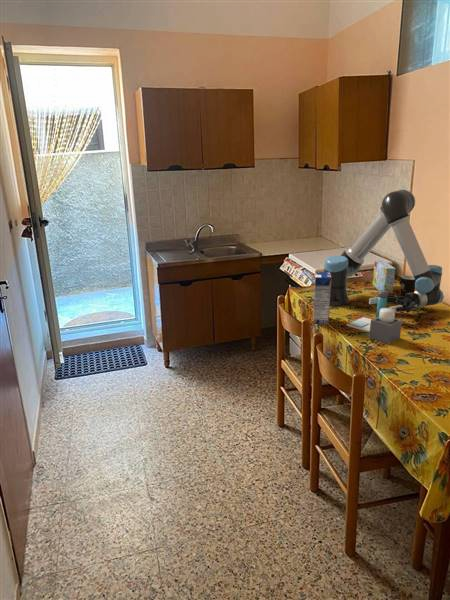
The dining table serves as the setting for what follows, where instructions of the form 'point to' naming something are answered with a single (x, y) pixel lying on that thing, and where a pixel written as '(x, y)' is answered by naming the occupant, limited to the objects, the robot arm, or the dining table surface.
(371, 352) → the dining table surface
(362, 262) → the robot arm
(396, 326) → the button console
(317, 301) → the beverage box
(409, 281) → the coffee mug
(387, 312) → the button
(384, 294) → the marker
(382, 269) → the snack box
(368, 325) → the white sorting board
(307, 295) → the dining table surface
